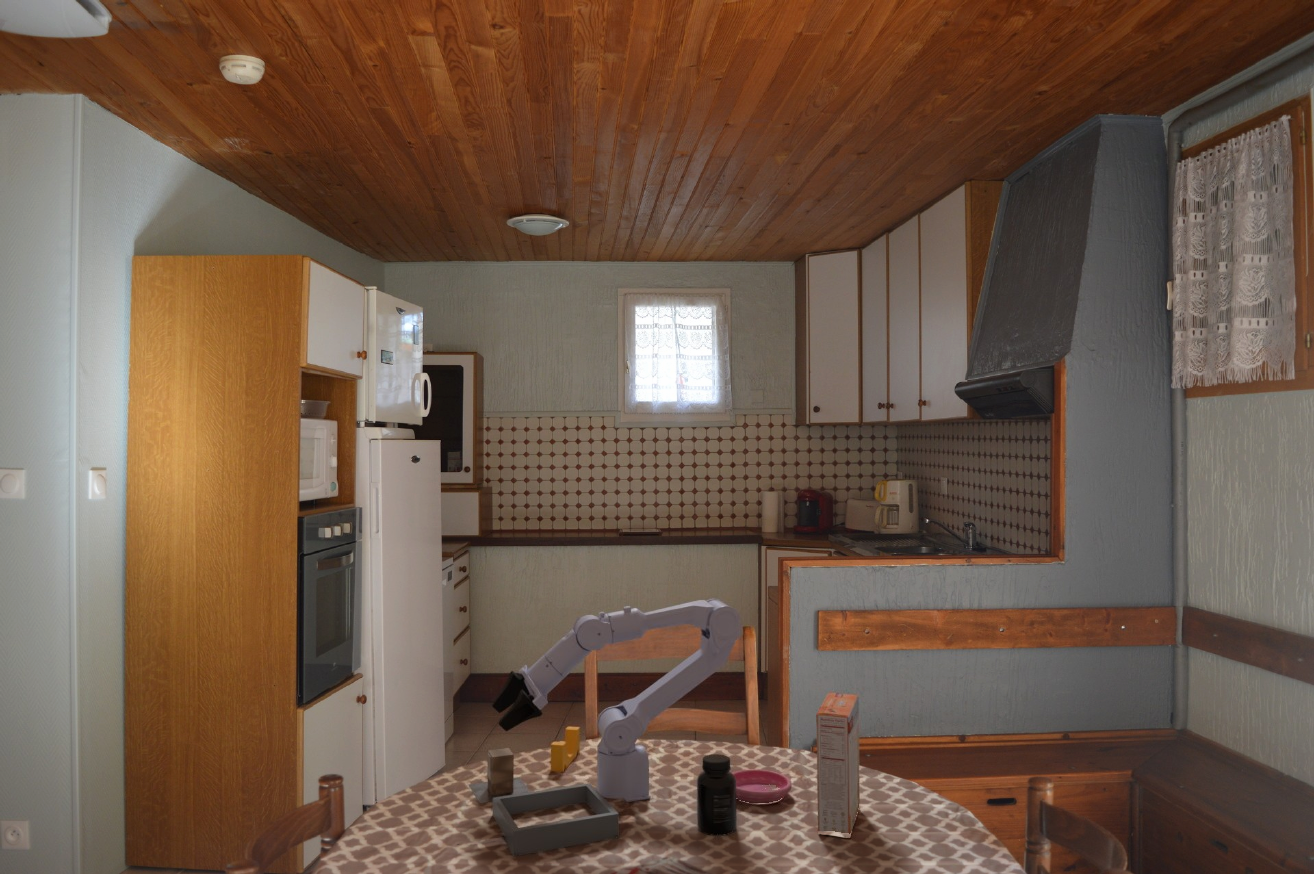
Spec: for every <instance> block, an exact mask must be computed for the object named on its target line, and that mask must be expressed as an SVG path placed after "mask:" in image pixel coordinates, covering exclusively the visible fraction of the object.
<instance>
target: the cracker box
mask: <svg viewBox="0 0 1314 874" xmlns="http://www.w3.org/2000/svg"><path fill="white" fill-rule="evenodd" d="M859 706H860V705H859V695H858V694H852V693H851V694H847V693H841V692H840V693H839V692H828V693H827V694H826V696H825V698H824V700H823V702H822V704H821V706H820V708H819V709H818V711H817V713H816V716H815V717H816V718H815V720H816V772H817V773H816V774H817V775H816V781H817V782H816V783H817V784H816V788H817V790H816V791H817V792H816V793H817V795H816V796H817V832H818V831H835V832H841V833H849V834H850V833H851V831H852V829H853V825H854V822H855V818H856V815H857V812H858V813H859V811H858V808H859V804H860V805H861V803H860V801H861V800H860V797H861V796H860V795H861V794H860V793H861V792H860V719H859V718H860V717H859V716H860V715H859V713H860V710H859V709H860V708H859ZM859 809H860V808H859ZM857 816H858V815H857ZM856 819H857V818H856ZM855 823H856V822H855ZM854 826H855V825H854ZM853 830H854V829H853Z"/></svg>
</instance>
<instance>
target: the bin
mask: <svg viewBox="0 0 1314 874" xmlns="http://www.w3.org/2000/svg"><path fill="white" fill-rule="evenodd" d="M579 804H587V805H588V807H589V808H591V810H592V811H593V812H594V813H595V814H594V815H588V816H582V817H576V818H570V819H563V820H558V821H552V822H546V823H540V824H534V825H528V826H522V827H518V824H517V823H516V822H515V820H514V819H513V818H512V815H517V814H523V813H524V814H525V813H528V812H529V813H530V812H536V811H542V810H549V809H554V808H555V809H556V808H560V807H561V808H562V807H566V806H573V805H579ZM492 816H493V817H492V818H493V819H494V821H496V823H497V825H498V827H499V828H500V830H501V832H502V833H503V835H501V837H502V839H503V841H504V843H505V844H506V847H508V849H509V852H510V853H511V855H512V856H513V857H518V856H519V857H520V856H525V855H529V854H534V853H541V852H546V851H552V850H558V849H563V848H569V847H573V846H580V845H585V844H591V843H596V842H601V841H607V840H613V839H617V838H618V839H619V837H620V834H619V833H620V832H619V827H620V826H619V825H620V822H619V819H620V818H619V817H620V816H619V812H618V811H617V810H616V809H615V808H614V807H613V806H612V804H610V802H608V800H607V799H606V798H605V797H603V796H601V794H600V793H599V792H598V791H597V788H595V787H594V786H593V785H592V784H591V783H590V782H588V783H583V784H580V783H579V784H573V785H568V786H562V787H555V788H549V789H544V790H543V789H542V790H536V791H530V792H528V793H521V794H515V795H508V796H501V797H495V798H493V802H492Z"/></svg>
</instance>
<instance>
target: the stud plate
mask: <svg viewBox="0 0 1314 874" xmlns="http://www.w3.org/2000/svg"><path fill="white" fill-rule="evenodd" d="M468 787H469V788H470V789H471V792H472V793H473V795H474V797H475V798H476V801H478V804H479V805H481V804H486V803H493V798H495V797H501V796H508V795H515V794H521V793H528V792H531V790H530V789H529V788H528V786H527V785H526V783H525V782H524V780H522V778H521V776H519V777H518V776H517V777H514V783H513V792H509V793H503V794H496V795H492V794H491V792H490V791H489V789H488V781H482V782H475V783H469V784H468Z"/></svg>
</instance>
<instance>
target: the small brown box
mask: <svg viewBox="0 0 1314 874" xmlns="http://www.w3.org/2000/svg"><path fill="white" fill-rule="evenodd" d="M514 756H515V754H514V753H513V752H512V751H511V749H510V748H509V747H505V748H498V749H490V750H489V749H488V750H487V756H486V757H487V758H486V759H487V763H486V765H487V766H486V767H487V769H486V770H487V771H486V773H487V774H486V776H487V782H488V789H489V791H490V792H491V794H492V795H496V794H503V793H509V792H513V783H514V778H515V777H514V773H515V772H514V771H515V770H514V765H515V764H514V762H515V758H514Z"/></svg>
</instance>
